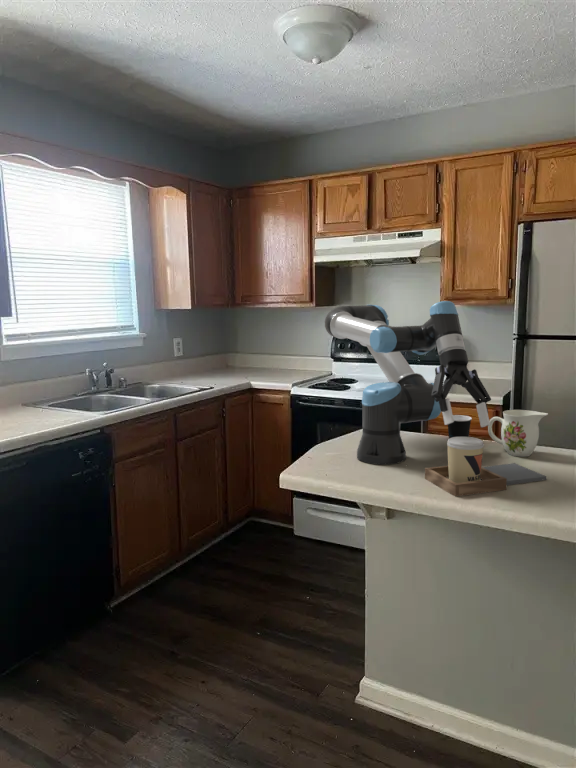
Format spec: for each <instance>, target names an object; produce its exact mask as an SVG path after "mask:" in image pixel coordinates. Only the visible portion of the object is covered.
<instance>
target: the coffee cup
mask: <svg viewBox="0 0 576 768" xmlns="http://www.w3.org/2000/svg"><path fill="white" fill-rule="evenodd" d="M446 445H447V466H448V470H449V477H448V479H450V480H451V481H453V482H455V483H465V482H472V481H480V480H481V479H480V474H481V467H482V465H483V464H482V463H483V453H484V446H485V444H484V441H483V440H481V438H477V437H473V436H472V437H471V436H469V437H452V438H449V437H448V440H447V442H446Z"/></svg>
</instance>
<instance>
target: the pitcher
mask: <svg viewBox="0 0 576 768" xmlns="http://www.w3.org/2000/svg"><path fill="white" fill-rule="evenodd" d="M502 415H503V417H500V416H493V417H491V418H490V419H489V421H490V425H488V426H487V431H488V435H489V437H490V438H491V439H492V440H493V441H494V442H496V443H498V444H500V445H502V446H503V448H504V450H505V451H506V453H507V454H508V455H510V456H512V457H513V456H514V457H529V456H531V454H532V453H533V452H534V451H535V449H536V448H537V445H538V442H539V437H540V427H539V423H540V421H541V420H542V418H544V417H546V416H548V415H549V413H548V412H542V411H541V412H540V411H535V410H528V409H527V410H525V409H509V410H508V409H507V410H504V411H502ZM495 421H496V422H500V424H501V429H500V432H501V433H500V434H501V436H500V437H501V439H500V438H499V437H497V436H496V435H495V433H494V432H493V424H494V422H495Z"/></svg>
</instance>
